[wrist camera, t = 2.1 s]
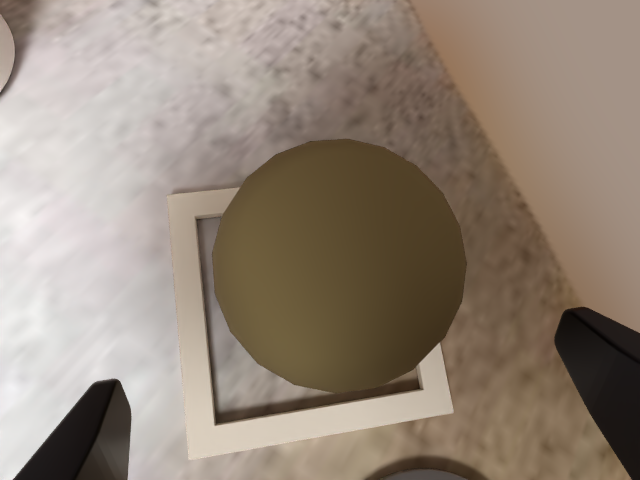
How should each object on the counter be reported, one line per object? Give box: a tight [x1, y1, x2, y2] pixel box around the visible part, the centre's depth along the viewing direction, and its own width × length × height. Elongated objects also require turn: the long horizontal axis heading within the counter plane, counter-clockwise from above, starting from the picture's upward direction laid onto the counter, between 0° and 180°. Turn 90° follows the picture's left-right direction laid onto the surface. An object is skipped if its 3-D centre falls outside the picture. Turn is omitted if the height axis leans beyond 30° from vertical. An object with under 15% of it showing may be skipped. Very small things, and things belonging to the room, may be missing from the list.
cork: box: [212, 139, 467, 393], centre depth 13 cm, size 6×6×11 cm
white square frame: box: [167, 187, 454, 460], centre depth 19 cm, size 10×10×1 cm
